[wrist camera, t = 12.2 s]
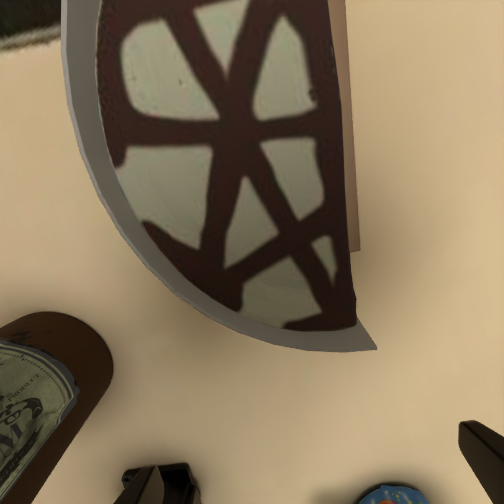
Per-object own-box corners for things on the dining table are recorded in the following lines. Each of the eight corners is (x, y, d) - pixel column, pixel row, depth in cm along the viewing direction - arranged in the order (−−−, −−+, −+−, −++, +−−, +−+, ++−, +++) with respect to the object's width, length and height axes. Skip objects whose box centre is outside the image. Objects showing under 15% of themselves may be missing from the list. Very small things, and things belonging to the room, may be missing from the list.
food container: (154, 54, 13) (-115, -299, 4) (270, 28, 13) (321, -437, 3) (207, 274, 16) (142, 403, 7) (303, 257, 16) (379, 368, 6)
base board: (198, 263, 19) (188, 277, 16) (145, 32, 16) (120, -3, 13) (343, 240, 19) (360, 250, 16) (324, -5, 15) (341, -50, 12)
